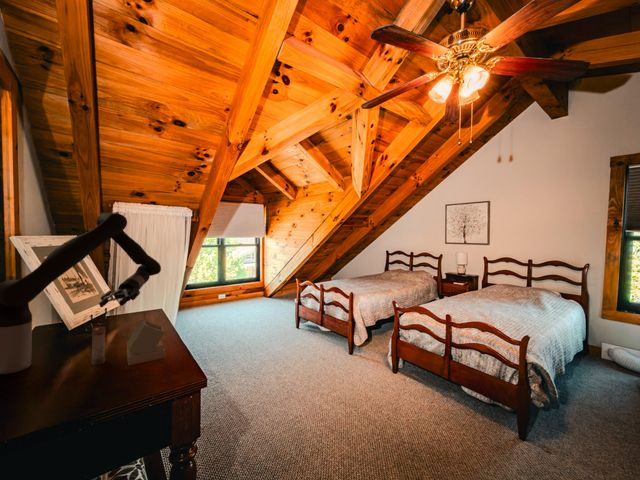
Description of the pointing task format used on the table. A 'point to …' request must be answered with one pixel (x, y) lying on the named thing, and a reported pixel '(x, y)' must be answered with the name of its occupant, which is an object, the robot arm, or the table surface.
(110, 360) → the table surface
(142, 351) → the socket
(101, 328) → the peg
